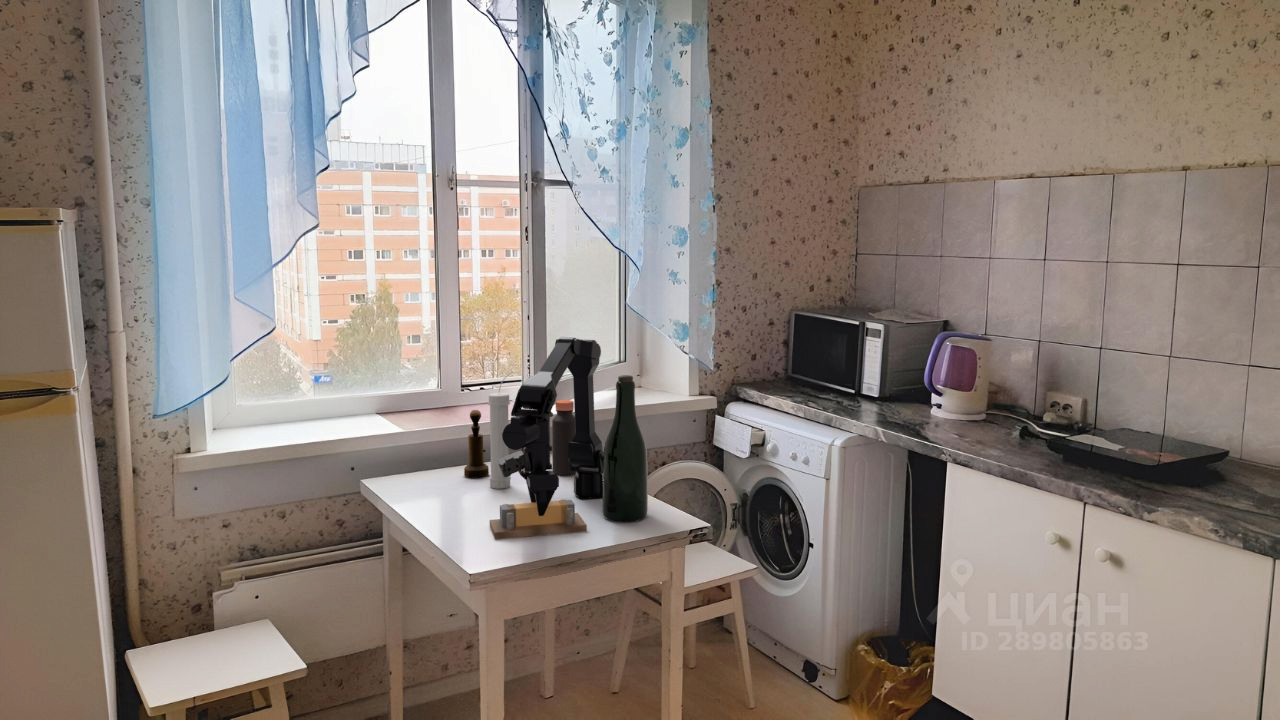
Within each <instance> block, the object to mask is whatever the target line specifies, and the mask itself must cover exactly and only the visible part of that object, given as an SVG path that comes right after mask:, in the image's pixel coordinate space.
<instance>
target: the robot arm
mask: <svg viewBox="0 0 1280 720" xmlns="http://www.w3.org/2000/svg"><path fill="white" fill-rule="evenodd" d="M601 356H602V350H601V345H600V344H599V343H598V342H597V341H596V340H595V339H580V338H577V337H570V336H569V337H568V336H567V337H566V336H562V337H561V336H560V337H557V338H556V340H555V343H554V346H553V348H552V350H551V352H550V353H549V355H548V356H547V358H546V360H545V361H544V363H543V365H542V366H541V367H540V369H539V371H537V373H536V374H534V375H532V376H530V377H527V378H526V380H525V381H524V382H523V383H522V384H521V386H519V389H518V391H517V394H516V395H515V400H514V404H513V406H512V409H511V412H510V416H511V417H510V422H509V423H508V425H507V426H506V427H505V428H504V430H503V433H502V438H503V441H504V443H505V445H506V446H507V447H508V448H509V450H513V451H514V452H512V453H509V455H507V456H505V457H502V458H500V459H498V460H497V462H498V465H499V467H500V470H501V472H502V474H503V476H504V477H508V476H512V475H513V474H515V473H518V474H519V475H520V476H521V477H522V478H523V479H524V481H525V482H526V485H527V491H528V495H529V499H530V503H534V502H536V504H537V510H538V515H539V516H544V514H545V512H546V510H547V507H548V505H549V503H550V501H552V499H553V496H554V495H555V492H556V491H557V490H558V488H560V477H558V475H556V474H555V473H554V472H553V463H551V452H552V444H551V418H552V417H553V416H554V413H553V412H552V409H553V407H554V406H555V404H556V401H557V396H558V393H557V386H558V384H559V382H560V381H561V379H562V377H563V375H564V374H565V372H566V370H567V369H568V371H569V372H570V374H571V375H572V378H573V379H572V380H573V382H572V383H573V401H574V409H573V410H574V411H573V412H574V417H575V435H574V437H573V439H572V441H571V442H569V444H568V462H569V467H570V472H576V474H575V476H574V477H573V493H574V494H575V496H576V497H577V498H578V499H579V500H586V499H601V498H602V499H603V459H604V449H603V443H602V440H601V439H600V437H599V436H598V433H596V425H595V423H596V422H595V397H594V396H595V395H594V373H596V370H597V369H598V367H599V365H600V358H601ZM518 450H519V451H518ZM515 451H516V452H515Z"/></svg>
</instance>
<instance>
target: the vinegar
mask: <svg viewBox="0 0 1280 720" xmlns="http://www.w3.org/2000/svg"><path fill="white" fill-rule="evenodd" d="M555 412H556V415H555V416H554V417H553V418H552V421H551V424H552V425H551V431H552V436H551V438H552V441H551V443H552V444H551V446H552V451H551V452H552V454H551V457H552V459H551V460H552V471H553V472H554V473H555V474H556V475H557V476H560V477H569V476H573V475H576V472H570V467H569V462H568V444H569V442H571V441H572V439H573V437H574V435H575V414H573V412H575V411H574V400H570V399H561V400H559V399H558V400H556V401H555Z"/></svg>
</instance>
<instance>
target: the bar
mask: <svg viewBox="0 0 1280 720" xmlns="http://www.w3.org/2000/svg"><path fill="white" fill-rule="evenodd" d="M507 504H508V503H507ZM575 506H576V504H575V503H574V502H573V500H572V499H560V500H551V501H550V503H549V505H548V507H547V510H546V512H545V514H544V516H539V515H538V510H537V504H536V502H534V503H531V502H525V503H513V504H512V503H511V504H508V505H503V504H500V505H499V519H500V524H501V526H502V528H506V527H507V513H514V527H518V526H529V525H541V524H553V523H565V522H566V509H567V508H573V522H575V513H576V510H575V508H576V507H575Z"/></svg>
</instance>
